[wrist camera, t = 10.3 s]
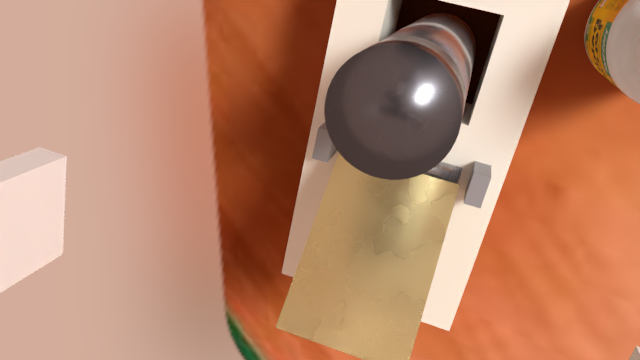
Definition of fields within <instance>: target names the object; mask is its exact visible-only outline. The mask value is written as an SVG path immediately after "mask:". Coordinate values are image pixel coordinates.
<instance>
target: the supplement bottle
mask: <svg viewBox="0 0 640 360" xmlns="http://www.w3.org/2000/svg"><path fill="white" fill-rule="evenodd" d="M584 44H585V49H586V52H587V55H588V57H589V60H590V61H591V63H592V65H593V66H594V67H595V68H596V69H597V71H598V72H599V73H600V74H602V75H603V76H604V77H605V78H606V79H608V81H610V82H611V83H612V84H613V85H615V86H616V87H617V88H618V89H619V90H620V91H621V92H623V93H624V94H625V95H626V96H628V97H629V98H630V99H632V100H633V101H635V102H637V103H639V104H640V0H599V1H598V2H597V4H596V5H595V7H594V8H593V10H592V12H591V14H590V16H589V18H588V21H587V24H586V28H585V33H584Z"/></svg>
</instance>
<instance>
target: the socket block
mask: <svg viewBox="0 0 640 360" xmlns="http://www.w3.org/2000/svg"><path fill="white" fill-rule="evenodd" d="M440 1H444V2H449V3H453V4H457V5H462V6H466V7H470V8H475V9H479V10H483V11H488V12H492V13H496V14H501V15H500V18H499V21H498V24H497V27H496V30H495V34H494V37H493V40H492V43H491V46H490V49H489V52H488V55H487V59H486V62H485V65H484V68H483V71H482V74H481V77H480V80H479V84H478V87H477V90H476V93H475V96H474V99H473V102H472V104H469V103H465V107H464V112H463V117H462V122H461V127H460V131H459V134H458V137H457V139H456V142H455V144H454V145H453V147H452V149H451V150H450V152H449V153H448V154H447V156H446V157H445V158H444V159H443V160H442V161H441V162H445V163H448V164H452V165H455V166H459V167H462V172H461V175H460V178H459V181H458V184H459V185H460V186H459V189H458V193H457V196H456V200H455V203H454V207H453V210H452V214H451V217H450V221H449V224H448V228H447V231H446V235H445V238H444V242H443V245H442V249H441V252H440V256H439V259H438V262H437V266H436V269H435V273H434V276H433V280H432V283H431V287H430V290H429V294H428V297H427V301H426V304H425V308H424V311H423V315H422V318H421V322H424V323H427V324H430V325H433V326H436V327H439V328H442V329H445V330H448V331H449V330H450V327H451V325H452V322H453V319H454V316H455V314H456V311H457V308H458V306H459V303H460V300H461V297H462V295H463V292H464V289H465V286H466V284H467V281H468V278H469V275H470V273H471V270H472V267H473V264H474V262H475V259H476V256H477V253H478V251H479V248H480V245H481V243H482V240H483V237H484V234H485V232H486V229H487V226H488V223H489V221H490V218H491V215H492V212H493V210H494V207H495V204H496V201H497V199H498V196H499V193H500V190H501V188H502V185H503V182H504V180H505V177H506V174H507V171H508V169H509V166H510V163H511V160H512V158H513V155H514V152H515V149H516V147H517V144H518V141H519V138H520V136H521V133H522V130H523V127H524V125H525V122H526V119H527V117H528V114H529V111H530V108H531V106H532V103H533V100H534V97H535V95H536V92H537V89H538V86H539V84H540V81H541V78H542V75H543V73H544V70H545V67H546V64H547V62H548V59H549V56H550V54H551V51H552V48H553V45H554V43H555V40H556V37H557V34H558V32H559V29H560V26H561V23H562V21H563V18H564V15H565V12H566V10H567V7H568V4H569V1H570V0H440ZM402 2H403V0H337V2H336V7H335V12H334V17H333V22H332V27H331V32H330V37H329V41H328V46H327V51H326V56H325V61H324V66H323V71H322V76H321V81H320V86H319V91H318V96H317V101H316V105H315V110H314V115H313V120H312V125H311V130H310V135H309V140H308V145H307V150H306V155H305V160H304V165H303V170H302V174H301V179H300V184H299V189H298V194H297V199H296V204H295V209H294V214H293V219H292V224H291V229H290V234H289V238H288V243H287V248H286V253H285V258H284V263H283V268H282V274H285V275H288V276H291V277H294V275H295V272H296V270H297V267H298V264H299V261H300V259H301V256H302V253H303V250H304V248H305V245H306V242H307V239H308V237H309V234H310V231H311V228H312V226H313V223H314V220H315V217H316V215H317V212H318V209H319V206H320V204H321V201H322V198H323V195H324V192H325V190H326V187H327V184H328V181H329V179H330V176H331V173H332V170H333V168H334V165H335V162H336V159H337V157H338V154H339V152H338V151H337V149H336V148H335V146H334V145H333V143H332V141H331V139H330V136H329V134H328V131H327V127H326V123H325V115H324V105H325V98H326V94H327V90H328V87H329V85H330V83H331V80H332V79H333V77H334V75H335V74H336V72H337V71H338V70H339V68H340V67H341V66H342V65H343V64H344V63H345V62H346V61H347V60H348V59H350V58H351V57H352V56H354V55H355V54H357V53H359V52H361V51H362V50H364V49H366V48H368V47H370V46H371V45H373V44H375V43H377V42H379V41H381V40H382V39H384V38H386V37H388V36H390V35H391V34H393V33H395V30H396V26H397V22H398V18H399V14H400V10H401V6H402Z"/></svg>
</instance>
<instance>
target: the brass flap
mask: <svg viewBox="0 0 640 360" xmlns="http://www.w3.org/2000/svg"><path fill="white" fill-rule="evenodd" d="M461 172H462V167H459V166H455V165H452V164H448V163H445V162H440V163H439V164H438V165H436V166H435V167H434V168H432V169H431V170H429V171H427V172H425V173H423V174H421V175H418V176H416V177H412V178H408V179H401V180H388V179H381V178H377V177H373V176H370V175H368V174H365V173H363V172H361V171H360V170H358V169H356V168H355V167H353V166H352V165H351V164H350V163H348V162H347V161H346V160H345V159H344V158H343V157H342V156H341V155H340V153H339V154H338V157H337V159H336V162H335V165H334V168H333V170H332V173H331V176H330V179H329V181H328V184H327V187H326V190H325V192H324V195H323V198H322V201H321V204H320V206H319V209H318V212H317V215H316V217H315V220H314V223H313V226H312V228H311V231H310V234H309V237H308V239H307V242H306V245H305V248H304V250H303V253H302V256H301V259H300V261H299V264H298V267H297V270H296V272H295V275H294V278H293V281H292V284H291V286H290V289H289V292H288V295H287V297H286V300H285V303H284V306H283V308H282V311H281V314H280V317H279V319H278V322H277V325H276V328H278V329H280V330H283V331H286V332H289V333H291V334H294V335H297V336H300V337H302V338H305V339H308V340H311V341H313V342H316V343H319V344H321V345H324V346H327V347H330V348H332V349H335V350H338V351H341V352H343V353H346V354H349V355H352V356H354V357H357V358H360V359H363V360H410V356H411V353H412V349H413V346H414V342H415V339H416V336H417V332H418V329H419V325H420V322H421V318H422V315H423V311H424V308H425V304H426V301H427V297H428V294H429V290H430V287H431V283H432V280H433V276H434V273H435V269H436V266H437V262H438V259H439V256H440V252H441V249H442V245H443V242H444V238H445V235H446V231H447V228H448V224H449V221H450V217H451V214H452V210H453V207H454V203H455V200H456V196H457V193H458V189H459V186H460V185H459V184H458V181H459V178H460V175H461Z"/></svg>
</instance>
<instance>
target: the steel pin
mask: <svg viewBox="0 0 640 360" xmlns="http://www.w3.org/2000/svg"><path fill="white" fill-rule="evenodd" d="M475 53H476V43H475V39H474V35H473V33H472V31H471V29H470V28H469V26H468V25H467V24H466V23H465V22H464V21H463V20H461V19H460V18H458V17H456V16H454V15H451V14H448V13H433V14H429V15H427V16H424V17H422V18H420V19H419V20H417V21H415V22H413V23H411V24H410V25H408V26H406V27H404V28H402V29H400V30H399V31H397V32H395V33H393V34H391V35H390V36H388V37H386V38H384V39H382V40H381V41H379V42H377V43H375V44H373V45H371V46H370V47H368V48H366V49H364V50H362V51H361V52H359V53H357V54H355V55H354V56H352V57H351V58H350V59H348V60H347V61H346V62H345V63H344V64H343V65H342V66H341V67H340V68H339V70H338V71H337V72H336V74H335V75H334V77H333V79H332V80H331V83H330V85H329V87H328V90H327V94H326V98H325V105H324V115H325V123H326V127H327V131H328V134H329V136H330V139H331V141H332V143H333V145H334V146H335V148H336V149H337V151H338V152H339V153H340V155H341V156H342V157H343V158H344V159H345V160H346V161H347V162H348V163H350V164H351V165H352V166H353V167H355V168H356V169H358V170H360V171H361V172H363V173H365V174H368V175H370V176H373V177H377V178H381V179H388V180H401V179H408V178H412V177H416V176H418V175H421V174H423V173H425V172H427V171H429V170H431V169H432V168H434V167H435V166H436V165H438V164H439V163H440V162H441V161H442V160H443V159H444V158H445V157H446V156H447V154H448V153H449V152H450V150H451V149H452V147H453V145H454V144H455V142H456V139H457V137H458V134H459V131H460V127H461V122H462V117H463V112H464V107H465V102H466V98H467V93H468V88H469V83H470V78H471V73H472V68H473V63H474V59H475Z"/></svg>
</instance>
